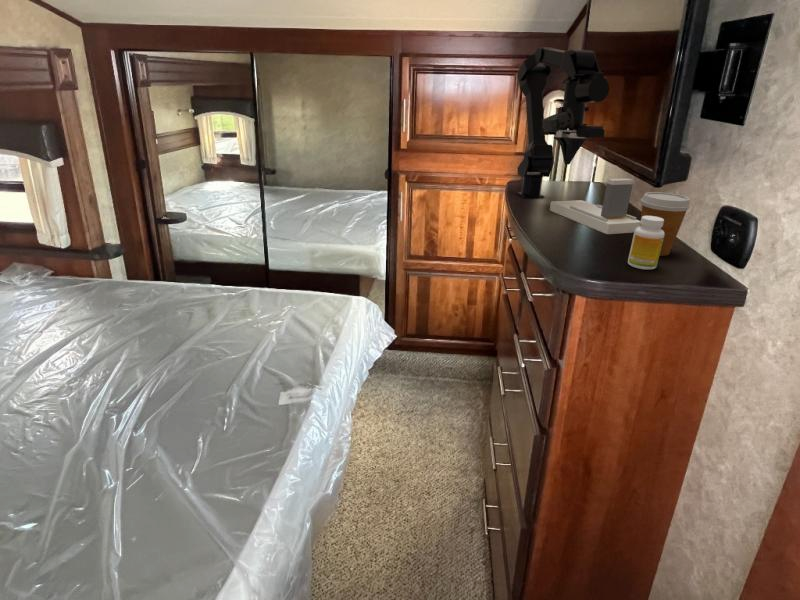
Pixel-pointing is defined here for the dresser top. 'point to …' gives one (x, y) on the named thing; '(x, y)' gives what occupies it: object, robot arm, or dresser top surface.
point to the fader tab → (617, 197)
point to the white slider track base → (594, 217)
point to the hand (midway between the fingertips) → (567, 164)
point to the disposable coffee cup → (666, 214)
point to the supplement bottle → (647, 243)
